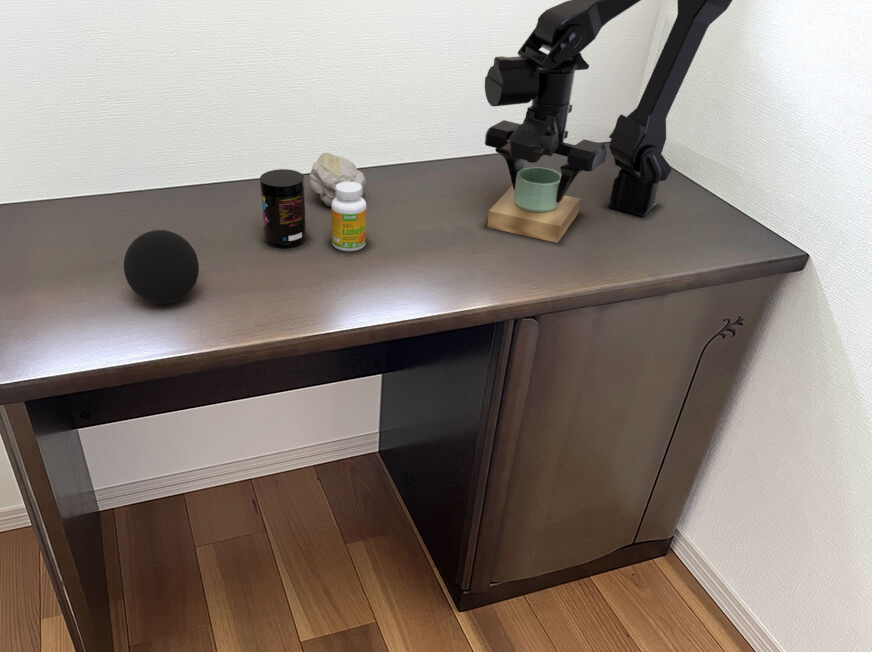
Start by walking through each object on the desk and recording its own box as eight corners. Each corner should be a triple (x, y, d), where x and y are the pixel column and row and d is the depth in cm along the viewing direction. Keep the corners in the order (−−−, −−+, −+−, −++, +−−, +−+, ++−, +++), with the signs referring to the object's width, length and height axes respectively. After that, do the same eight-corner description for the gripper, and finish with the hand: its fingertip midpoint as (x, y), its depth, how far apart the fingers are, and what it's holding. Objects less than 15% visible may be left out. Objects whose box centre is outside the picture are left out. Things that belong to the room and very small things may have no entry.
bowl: (565, 202, 133) (570, 174, 130) (545, 218, 128) (550, 188, 125) (526, 191, 136) (530, 163, 133) (505, 205, 132) (508, 177, 129)
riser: (577, 214, 136) (580, 198, 134) (557, 243, 128) (560, 226, 126) (510, 200, 141) (512, 184, 139) (486, 227, 132) (488, 210, 130)
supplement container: (288, 226, 131) (285, 165, 125) (315, 240, 127) (313, 178, 121) (255, 238, 128) (250, 176, 121) (281, 253, 124) (278, 190, 117)
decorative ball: (216, 299, 113) (209, 234, 107) (155, 325, 107) (143, 259, 101) (176, 273, 118) (167, 211, 112) (116, 297, 113) (103, 233, 107)
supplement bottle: (341, 255, 124) (340, 196, 118) (326, 240, 127) (325, 183, 121) (371, 248, 126) (372, 189, 120) (356, 234, 129) (356, 177, 124)
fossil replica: (350, 184, 146) (300, 198, 143) (344, 139, 141) (293, 152, 138) (380, 204, 137) (328, 219, 134) (376, 156, 132) (321, 171, 129)
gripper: (471, 100, 121) (463, 197, 131) (585, 127, 112) (567, 228, 122) (507, 83, 128) (496, 176, 138) (616, 107, 120) (597, 204, 129)
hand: (537, 195), depth 131 cm, fingers closed on bowl, 7 cm apart
